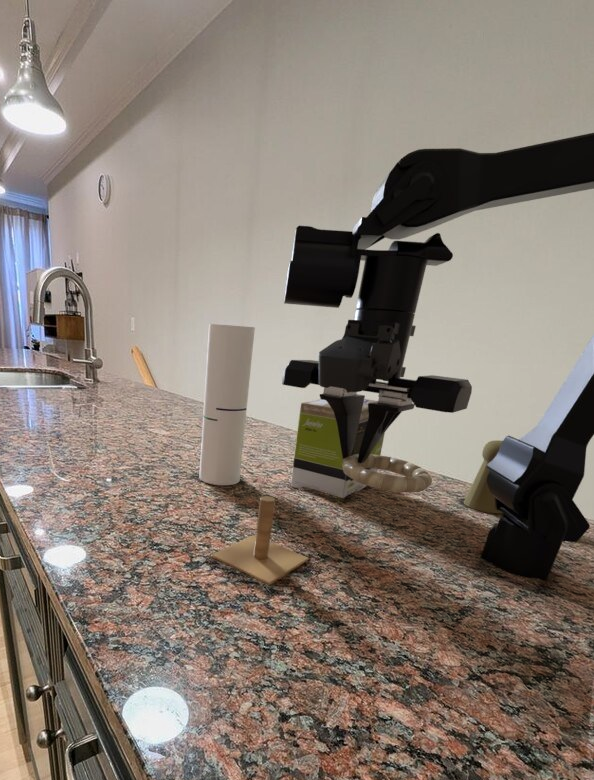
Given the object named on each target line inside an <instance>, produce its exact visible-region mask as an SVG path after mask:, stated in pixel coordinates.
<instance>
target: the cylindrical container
mask: <svg viewBox="0 0 594 780" xmlns="http://www.w3.org/2000/svg"><path fill="white" fill-rule="evenodd" d="M255 330H256V328H255V326H245V325H244V326H243V325H229V324H217V323H216V324H215V323H209V324H208V331H207V333H208V334H207V348H206V349H207V350H206V365H205V366H206V367H205V381H204V395H203V399H204V400H203V411H202V412H203V413H202V427H201V444H200V445H201V446H200V457H199V458H200V460H199V475H198V477H199V480H200V481H202V482H204V483H206V484H209V485H214V486H232V485H236V484H238V483H239V482H240V479H241V470H242V458H243V448H244V439H245V438H244V437H245V429H246V420H247V410H248V409H247V408H248V399H249V389H250V381H251V370H252V359H253V348H254V340H255Z"/></svg>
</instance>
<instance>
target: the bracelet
mask: <svg viewBox="0 0 594 780" xmlns="http://www.w3.org/2000/svg"><path fill="white" fill-rule="evenodd" d="M358 457H359V454H355V455H352V456H349V457H346V458H345V459H344V460H343V461H342V467H343V471H344V473H345V475H347V476H349V477H350V478H352V479H354V480H355V481H357V482H359V483H362V484H365V485H368V486H367V487H371V488H374V489H377V490H383V491H388V492H392V493H393V492H395V493H400V494H405V493H407V494H408V493H420V492H422V491H424V490H426V489H427V488H429V487H430V486H431V485H432V481H433V478H432V476H431V475H430V474H429V472H427V470H426V468H423V467H421V466H418V465H417V464H414V463H413V462H410V461H407V460H403V459H399V458H396V457H392V456H387V455H382V454H381V455H375V454H370V455H369V456H368V458H367V459H366V461H365V462H364V463H358ZM366 468H375V469H378V470H382V471H388V472H392V473H394V474H397V475H392V474H386V473H382V472H379V471H377V472H375V471H372V470H369V469H366ZM398 475H399V476H398ZM400 475H402V476H400Z"/></svg>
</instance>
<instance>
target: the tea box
mask: <svg viewBox="0 0 594 780" xmlns="http://www.w3.org/2000/svg"><path fill="white" fill-rule="evenodd" d="M373 402H378V400H376V399H375V400H374V399H369V398H364V403H363V407H362V412H361V416H360V421H359V425H358V430H357V434H356V439H355V443H354V447H353V450H352V453H351V456H352V455H355V454H359V450H360V447H361V443H362V440H363V436H364V432H365V429H366V425H367V422H368V418H369V413H368V403H373ZM298 415H299V416H298V422H297V431H296V438H295V449H294V454H293V463H292V471H291V480H290V486H291V487H292V488H295V489H297V490H298V489H300V488H303V487H304V488H307V489H311V490H314V491H318V492H322V493H325V494H329V495H332V496H335V497H339V498H341V499H343V498H344V499H345V498H346V497H347V496H349V495H351V494H353V493H355V492H359V491H361V490H363V489H364V488H366V487H369V486H368V485H365V484H362V483H359V482H357V481H355V480H354V479H352V478H350V477H349V476H347V475H345V473H344V471H343V467H342V461H343V460H344V459H343V457H342V451H341V445H340V439H339V433H338V427H337V422H336V418H335V415H334V412H333V410H332V408H331V407H330V405H329V404H328V402H327V401H326V400H322V399H320V398H319V399H314V400H310V401H304V402H301V403H300V408H299V413H298ZM385 434H386V432H385V433H384V434H383V436H382V437H381V439H380V440H379V442H378V443H377V445H376V446H375V447H374V449H373V450H372V452H371V453H370V454H375V455H381V456H382V449H383V444H384V439H385ZM366 469H369V470H372V471H375V472H379V471H378V470H379V469H375V468H366Z"/></svg>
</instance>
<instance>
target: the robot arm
mask: <svg viewBox="0 0 594 780" xmlns="http://www.w3.org/2000/svg"><path fill="white" fill-rule="evenodd" d="M593 189H594V132H591V133H585V134H580V135H576V136H570V137H566V138H561V139H555V140H551V141H547V142H542V143H536V144H532V145H527V146H526V145H525V146H522V147H518V148H513V149H507V150H503V151H498V152H477V151H473V150H469V149H464V148H460V147H458V148H453V147H452V148H419V149H415V150H413V151H411V152H409V153H407V154H405V155H404V156H403V157H401V158H400V160H398V161H397V162H396V164H395V165H394V166H393V168H392V169H391V170H390V171H389V173H388V174H387V175H386V177H385V178H384V179H383V181H382V182H381V183H380V185H379V186H378V187H377V189H376V190H375V192H374V196H373V198H372V201H371V209H370V213H369V214H368V215H367V216H362V217H361V218H360V219H359V220H358V221H357V223H356V224H355V225H354V226H353V229H352V231H349V230H334V229H322V228H321V229H320V228H316V227H313V226H311V225H310V226H309V225H298V226H297V227H296V229H295V232H294V239H293V246H292V253H291V259H290V260H289V264H288V267H287V273H286V274H287V275H286V283H285V291H284V297H283V299H284V300H283V304H284V305H285V304H286V305H287V304H288V305H298V306H310V307H321V308H322V307H323V308H335V309H339V308H340V306H341V304H342V301H343V298H344V297H345V298H346V299H347V298H348V299H351V298H353V296H354V294H355V291H356V287H357V283H358V279H359V275H360V269H361V268H360V267H361V261H364V264H363V269H362V274H361V279H360V285H359V290H358V295H357V301H356V306H355V311H354V317H353V319H347V324H346V326H345V329H344V334H343V336H342V338H341V339H337V340H335V341H333V342H332V343H330V344H329V345H328V346H326V347H324V348H323V349H322V350H320V351H319V352H318V360H314V359H291V360H289V362H288V363H287V364H286V366H285V367H284V369H283V373H282V374H283V375H282V380H281V382H282V383H281V385H283V386H288V387H294V388H299V389H300V388H301V389H306V388H307V387H308V386H309V385H317V386H320V387H321V388H323V391H322V393H319V399H322V400H326V401H327V402H328V404H329V405H330V407H331V408H332V410H333V412H334V415H335V418H336V422H337V427H338V433H339V439H340V445H341V451H342V457H343V459H345V458H346V457H349V456H351V453H352V450H353V447H354V443H355V439H356V434H357V430H358V425H359V421H360V416H361V412H362V407H363V403H364V399H366V398H365V397H366V395H365V394H360V393H359V392H369V393H375V394H378V400H377V401H378V402H373V403H368V413H369V418H368V422H367V425H366V429H365V432H364V436H363V440H362V443H361V447H360V450H359V457H358V463H364V462H365V461H366V459H367V458H368V456H369V455H370V453H371V452H372V450H373V449H374V447H375V446H376V445H377V443H378V442H379V440H380V439H381V437H382V436H383V434H384V433H385V434H386V431H387V430H388V429H389V428H390V427H391V425H393V423H394V422H395V421H396V420H397V419H398V418H399V416H400V415H401V413H403V412H405V411H409V410H414V408H418V409H423V410H430V411H436V412H441V413H451V414H453V413H456V412H457V413H458V412H460V411H463V410H467V408H468V405H469V403H470V399H471V395H472V392H473V391H472V389H473V386H472V384H471V382H470V380H469V379H467V378H466V379H465V378H458V377H449V376H441V375H435V374H432V375H418V376H417V378H416V379H410V378H409V379H408V378H404V377H405V373H406V369H407V368H406V367H405V366H404V362H405V358H406V354H407V350H408V347H409V341H410V337H414V335H415V331H416V326H417V325H413V324H414V319H415V315H416V312H417V307H418V303H419V298H420V293H421V288H422V286H423V281H424V277H425V273H426V270H427V269H426V268H427V266H433V267H436V266H440V265H443V264H445V263H448V262H449V261H451V260H452V259H453V257H454V254H453V252H452V251H451V250H450V248H449V247H448V246H447V245H446V244H445V243H444V241H443V238H442V235H441V233H439V232H436V233H434V234H433V235H431V236H429V237H428V238H427V239H426V240H425V241H424V242H423V241H422V242H421V241H410V240H409V241H407V240H406V241H405V240H403V239H406V238H408V237H411V236H414V235H417V234H419V233H423V232H425V231H427V230H430V229H433V228H436V227H438V226H441V225H443V224H446V223H447V222H450V221H453V220H455V219H457V218H460V217H463V216H465V215H468V214H470V213H473V212H476V211H481V210H486V209H491V208H493V209H494V208H498V207H502V206H503V207H504V206H508V205H513V204H518V203H519V204H520V203H524V202H530V201H535V200H539V199H540V200H541V199H545V198H551V197H555V196H561V195H567V194H572V193H579V192H582V191H588V190H589V191H590V190H593ZM384 239H388V240H393V241H392V243H391V244H390V246H389V247H388V249H385V250H379V249H369V248H370V247H372V246H374V245H375V244H377V243H379V242H380V241H382V240H384ZM358 393H359V394H358ZM385 434H384V435H385ZM593 437H594V334H593V336H592V337H591V339H590V340H589V341H588V343H587V345H586V346H585V348H584V350H583V351H582V353H581V355H580V356H579V358H578V359H577V361H576V363H575V364H574V366H573V367H572V369H571V370H570V372H569V374H568V376H567V377H566V379H565V380H564V382H563V384H562V385H561V386H560V388H559V390H558V391H557V393H556V395H555V396H554V398H553V399H552V401H551V402H550V404H549V406H548V407H547V409H546V410H545V412H544V414H543V416H542V417H541V419H540V421H538V423H537V425H536V426H534V428H533V429H531V430H530V431H529V432H528V433H526V434H525V435H523V436H521V437H520V438H519V439H518V438H516V437H514V436H511V435H506V436H505V437H504V439H502V441H503V442H502V444H501V446H500V449H499V451H498V453H497V455H496V456H495V458H494V459H493V460H492V461H491V462H490V463H488V464H487V467H488V468H489V469H491V470H490V471H489V474H488V476H487V484H488V488H489V491H490V492H491V494H492V495H493V496H494V498H495V508H496V509H497V510H499V511H501V512H502V513H501V514H502V515H501V516H500V518H499V520H498V522H495V523H494V524H492V526H491V527H490V528H489V531H488V534H487V536H486V539H485V543H484V546H483V549H482V552H481V554H480V559H481V560H484V561H485V562H487V563H490V564H492V565H494V566H495V567H496V568H498V569H500V570H501V571H503V572H506V573H509V574H511V575H514V576H517V577H521V578H527V579H538V580H541V581H548V578H549V576H550V573H551V571H552V569H553V566H554V564H555V562H556V559H557V556H558V554H559V552H560V549H561V547H562V544H563V543H564V542H570V543H571V542H572V543H577V542H578V541H579V540H580V539H581V538H582V537H583V536H584V535H585V533H586V532H587V531H588V530H589V529H590V528H591V525H590V523H589V522H588V520H587V519H586V517H585V515H584V514H583V513H582V512H581V510H580V508H579V507H578V506H577V504H576V502H575V501H574V500H573V499H574V497H575V496H576V494H577V492H578V489H579V487H580V485H581V483H582V481H583V479H584V477H585V471H586V458H587V447H588V445H589V443H590V441H591V440H592V439H593Z"/></svg>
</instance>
